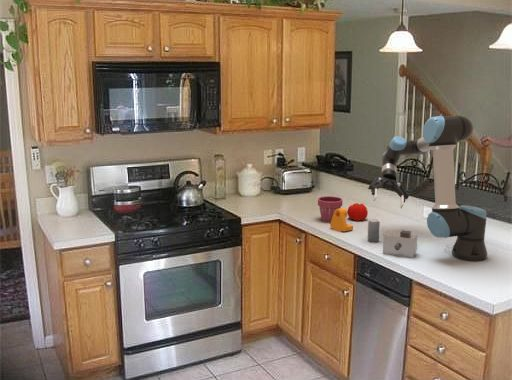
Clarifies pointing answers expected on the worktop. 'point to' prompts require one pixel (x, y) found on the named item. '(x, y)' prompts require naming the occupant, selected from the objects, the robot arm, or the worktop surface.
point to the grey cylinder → (373, 230)
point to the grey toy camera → (400, 243)
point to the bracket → (340, 220)
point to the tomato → (357, 212)
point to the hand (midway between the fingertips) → (388, 202)
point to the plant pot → (328, 206)
